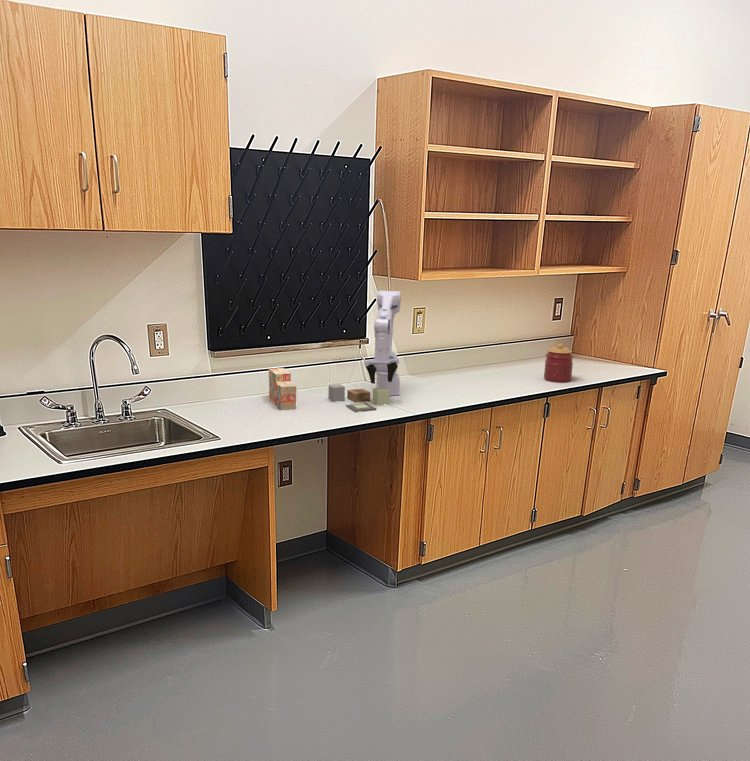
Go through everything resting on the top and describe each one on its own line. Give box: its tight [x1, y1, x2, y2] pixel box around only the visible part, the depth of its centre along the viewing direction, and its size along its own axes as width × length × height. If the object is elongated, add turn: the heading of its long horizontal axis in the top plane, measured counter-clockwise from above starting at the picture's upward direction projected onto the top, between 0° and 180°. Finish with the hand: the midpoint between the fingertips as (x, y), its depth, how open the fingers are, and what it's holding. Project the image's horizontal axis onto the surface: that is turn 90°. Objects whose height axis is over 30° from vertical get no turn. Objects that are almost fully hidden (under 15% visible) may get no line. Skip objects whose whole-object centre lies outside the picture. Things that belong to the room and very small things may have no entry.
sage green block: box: [371, 387, 390, 406], centre depth 272 cm, size 5×5×6 cm
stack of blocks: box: [268, 367, 297, 411], centre depth 269 cm, size 21×6×12 cm, turn 21°
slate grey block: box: [328, 383, 346, 403], centre depth 276 cm, size 5×5×6 cm
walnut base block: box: [346, 388, 371, 404], centre depth 277 cm, size 7×7×4 cm
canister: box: [543, 343, 574, 383], centre depth 323 cm, size 13×13×18 cm
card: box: [345, 402, 377, 413], centre depth 265 cm, size 9×9×1 cm
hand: (381, 382), depth 271 cm, fingers open, 7 cm apart
